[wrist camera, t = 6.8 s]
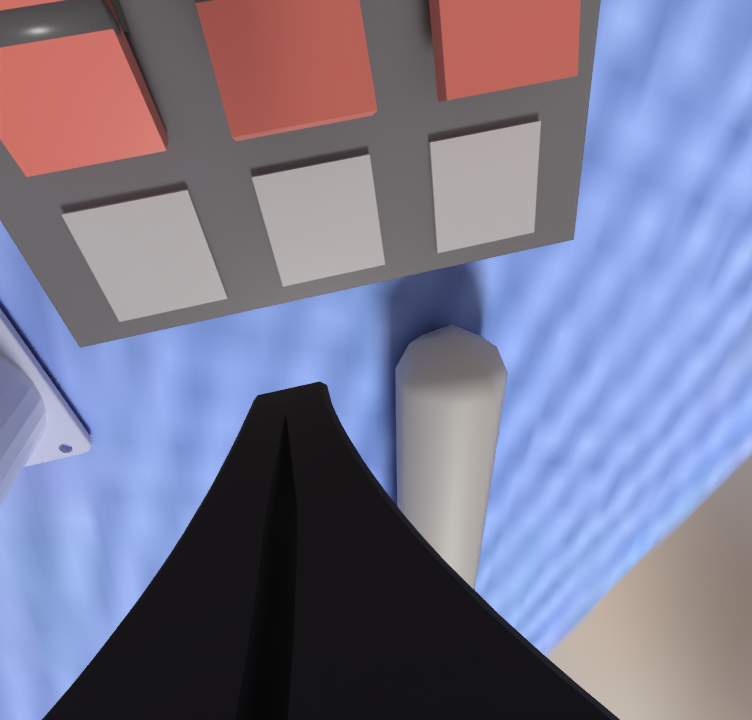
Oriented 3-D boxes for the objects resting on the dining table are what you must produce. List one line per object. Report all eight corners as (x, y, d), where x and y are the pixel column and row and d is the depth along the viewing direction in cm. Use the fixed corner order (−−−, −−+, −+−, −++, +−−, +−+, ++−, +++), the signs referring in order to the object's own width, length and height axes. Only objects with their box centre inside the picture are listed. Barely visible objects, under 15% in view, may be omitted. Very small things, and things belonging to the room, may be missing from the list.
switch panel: (101, 313, 18) (73, 357, 15) (-147, -128, 11) (-276, -185, 8) (541, 219, 19) (583, 245, 16) (571, -223, 12) (651, -297, 10)
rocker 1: (35, 161, 12) (24, 180, 12) (-192, -179, 8) (-232, -181, 7) (168, 136, 13) (166, 154, 12) (24, -205, 8) (5, -210, 7)
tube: (381, 370, 17) (392, 671, 31) (528, 376, 16) (472, 682, 30) (395, 305, 22) (399, 594, 35) (511, 308, 21) (469, 602, 35)
